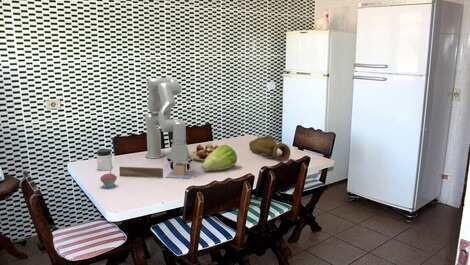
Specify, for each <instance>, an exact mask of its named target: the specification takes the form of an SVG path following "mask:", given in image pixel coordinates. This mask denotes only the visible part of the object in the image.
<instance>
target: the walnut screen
mask: <svg viewBox="0 0 470 265" xmlns="http://www.w3.org/2000/svg"><path fill="white" fill-rule="evenodd" d="M119 177H130V178H131V177H134V178H135V177H136V178H151V179H152V178H156V179H157V178H159V179H163V178H164V167H163V168H161V167H142V166H141V167H138V166H119Z"/></svg>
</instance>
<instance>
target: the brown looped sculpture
mask: <svg viewBox="0 0 470 265" xmlns="http://www.w3.org/2000/svg"><path fill="white" fill-rule="evenodd" d="M248 146H249V151H251V152H252V153H254V154H255V155H257V154H258V155H261V154H265V155H266V156H267V155H271V156H270V157H273V158H274V159H276V160H278V161H279V160H280V161H279V162H284V161H283V160H285V161H287V160H288V159H289V158H290V156H291V149H290V147H289V145H288V144H286V143H282V142H280V143H277V142H276V140H275V139H274V137H273V136H272V135H271V134H270V135H266V136H265V135H264V136H262V137H260V136H258V137H257V138H255V139H254V140H251V141H250V142H248ZM278 149H279V150H280V151H281V154H278V153H277V152H278Z"/></svg>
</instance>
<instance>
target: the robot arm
mask: <svg viewBox="0 0 470 265" xmlns="http://www.w3.org/2000/svg"><path fill="white" fill-rule="evenodd" d="M146 86H147V89H148V90H147V91H148V100H147V108H148V110H149V112H148V113H146V114H145V115H144V121H145V123H144V124H145V126H146V129H145V130H146V143H147V144H146V146H147V148H146V149H147V153H146V154H145V155H144V156H145V158H147V159H160V158H163V157H164V153H162V141H161V138H162V134H161V132H163V133H171V132H172V139H170V142H171V148H170V153H168V154H166V155H165V158H166V160H167V161H168V163H169V165H170V166H169V167H170V171H171V170H174V162H185V163H186V170H187V171H190V169H191V168H190V167H191V166H190V165H191V162H193V161H194V160H193V158H194V156H193V155H191V154H189V153H190V152H189V148H188V144H187V136H186V135H187V134H186V133H187V132H186V131H187V130H186V126H187V124H186V122H185V121H183V119H181V118H173V119H171V116H172V115H171V113H172V109H173V108H174V107H175V106H177V105H176V104H177V103H176V99H175V96H179V95H181V93H182V88H181V84H180V82H178V81H177V80H176V79H174V78H173V77H151V78H148V79H147V82H146ZM158 127H160V129H159V128H158ZM189 157H191V159H190V158H189Z"/></svg>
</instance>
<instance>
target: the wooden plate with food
mask: <svg viewBox="0 0 470 265" xmlns="http://www.w3.org/2000/svg"><path fill="white" fill-rule="evenodd" d="M220 146H221V145H220ZM220 146H219V145H218V144H217V145H216V144H215V145H214V146H213V144H211V143H208V144H206V145H205V147H204V146H203V145H202V144H197V145H196V149H195V150H192V151H191V152H188V153H189V154H191V155H193V156H194V158H193V160H192V161H194V162H195V161H196V162H198V163H199V162H200V163H204V161H205V159H206V158H207V156H209V155H210V154H211V153H212V152H213V151H214V150H215V149H217V148H218V147H220ZM188 159H189V160H190V159H191V157H188Z"/></svg>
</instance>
